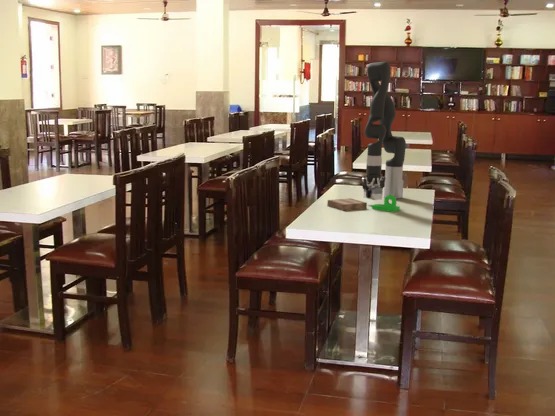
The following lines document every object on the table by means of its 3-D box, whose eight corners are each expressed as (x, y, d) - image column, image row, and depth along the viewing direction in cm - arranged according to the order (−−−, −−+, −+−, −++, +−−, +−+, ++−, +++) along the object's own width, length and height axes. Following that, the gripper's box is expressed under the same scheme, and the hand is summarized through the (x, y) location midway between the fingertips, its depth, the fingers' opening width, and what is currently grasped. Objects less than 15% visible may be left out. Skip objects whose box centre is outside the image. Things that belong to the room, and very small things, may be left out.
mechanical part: (399, 210, 309) (400, 194, 308) (393, 212, 304) (394, 196, 303) (377, 207, 316) (378, 191, 315) (371, 209, 311) (372, 193, 310)
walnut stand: (350, 204, 323) (350, 198, 322) (366, 208, 311) (366, 202, 310) (327, 205, 316) (327, 200, 316) (343, 210, 304) (343, 204, 304)
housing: (371, 196, 325) (371, 185, 324) (382, 199, 318) (382, 187, 316) (363, 197, 323) (363, 185, 322) (374, 200, 315) (374, 188, 314)
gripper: (380, 162, 323) (379, 195, 327) (358, 164, 317) (356, 197, 320) (390, 164, 317) (388, 197, 320) (367, 165, 310) (365, 199, 313)
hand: (372, 197), depth 320 cm, fingers closed on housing, 5 cm apart
